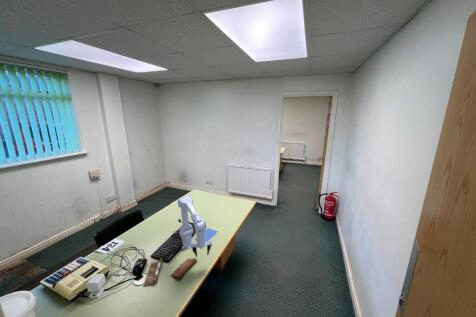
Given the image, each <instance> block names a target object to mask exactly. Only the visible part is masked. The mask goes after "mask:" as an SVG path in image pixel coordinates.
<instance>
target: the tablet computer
mask: <svg viewBox="0 0 476 317" xmlns="http://www.w3.org/2000/svg"><path fill="white" fill-rule="evenodd" d="M217 234H219V231H218V230H214V229H212V228H209V227H206V229H205V239H206V241H208V242H211V240H212V239H213V238H214V237H216V236H217ZM193 242H195V243H197V236H196V237H195V238H194V239H193Z"/></svg>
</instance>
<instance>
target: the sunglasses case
mask: <svg viewBox="0 0 476 317" xmlns="http://www.w3.org/2000/svg"><path fill="white" fill-rule="evenodd" d="M197 261H198V259H197V257H193V258H187V259H186V260H185V261H184V262H182V263H181V264H180V265H179V266H178V267H177V268H176V269H175V270H173V272H172V273H171V274H170V277H171V278H173V279H174V280H176V281H178V282H179V281H180V280H182V278H183V277H184V276H185V275H186V274H187V273H188V272H189V271H190V270H191V268H192V267H194V265H195V264H196V263H197Z"/></svg>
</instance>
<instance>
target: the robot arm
mask: <svg viewBox="0 0 476 317" xmlns="http://www.w3.org/2000/svg"><path fill="white" fill-rule="evenodd" d="M177 206H178V208H180V213H181V221H182V225H180V227H179V231H178V232H179V237H180V238H181V239H182V240H181V241H182V242H181V243H182V245H183V246H181V249H182V250H184V249H192V250H191V251H192V252H193V254H194V255H195V258H197V257H198V252H197V251H198V250H197V248H198V249H200V250H201V249H204V248H206V249H207V252H206V255H207V256H209V254H210V250H211V249H212V247H213V241H209V242H208V241H206V239H205V230H206V229H207V223H206V221H205V220H204V219H203V218H201V216H200V214H199V212H196V209H195V207H194V199H193V197H192V196H191V195H188V196H185V197H181V198H178V199H177ZM189 214H190V219H191V222H192V223H193V225H194V226H193V225H192V224H191V223H190V222H189V220H190V219H189ZM193 227H194V228H193ZM194 230H195V234H196V237H197V242H194V239H193V238H192V235H193V234H194ZM193 242H194V243H193Z"/></svg>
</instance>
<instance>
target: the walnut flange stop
mask: <svg viewBox="0 0 476 317" xmlns="http://www.w3.org/2000/svg"><path fill="white" fill-rule="evenodd" d="M163 262H164V261H163V258H159V260H158V261H154V262H150V265H149V266H150V267H149V269H148V272H147V275H146V277H145V280H144V282H143V283H144V284H143V287H148V286H155V285H158V281H159V277H160V274H161V270H162V266H163V264H164V263H163Z"/></svg>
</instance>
